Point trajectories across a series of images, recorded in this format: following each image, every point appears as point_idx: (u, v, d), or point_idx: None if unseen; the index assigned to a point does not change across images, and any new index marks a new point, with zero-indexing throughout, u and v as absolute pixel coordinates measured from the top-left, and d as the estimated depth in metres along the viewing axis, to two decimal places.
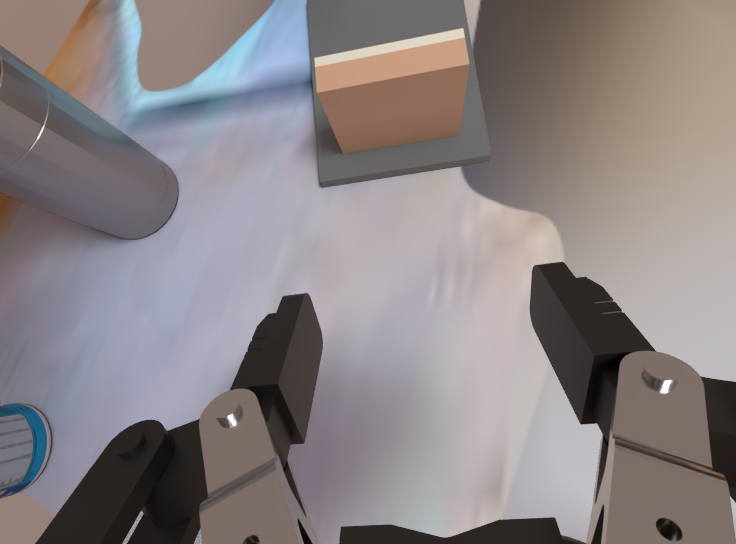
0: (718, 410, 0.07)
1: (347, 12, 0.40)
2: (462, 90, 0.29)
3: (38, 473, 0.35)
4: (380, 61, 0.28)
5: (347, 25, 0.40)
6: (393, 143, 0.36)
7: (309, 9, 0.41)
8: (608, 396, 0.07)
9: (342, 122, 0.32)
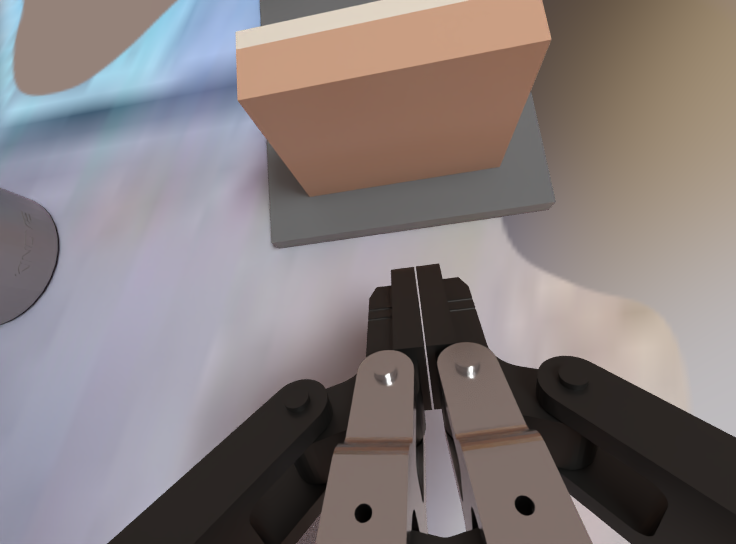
0: (512, 393, 0.08)
1: None
2: (523, 94, 0.15)
3: None
4: (364, 36, 0.14)
5: None
6: (391, 180, 0.22)
7: None
8: None
9: (299, 152, 0.18)
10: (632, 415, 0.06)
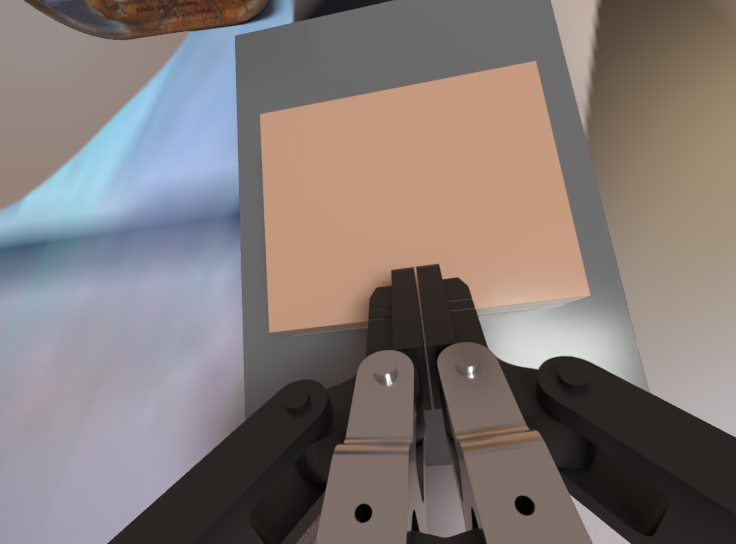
0: (512, 393, 0.08)
1: (315, 74, 0.19)
2: (543, 125, 0.14)
3: None
4: None
5: (314, 102, 0.19)
6: None
7: (240, 66, 0.20)
8: None
9: (288, 201, 0.15)
10: (632, 415, 0.06)
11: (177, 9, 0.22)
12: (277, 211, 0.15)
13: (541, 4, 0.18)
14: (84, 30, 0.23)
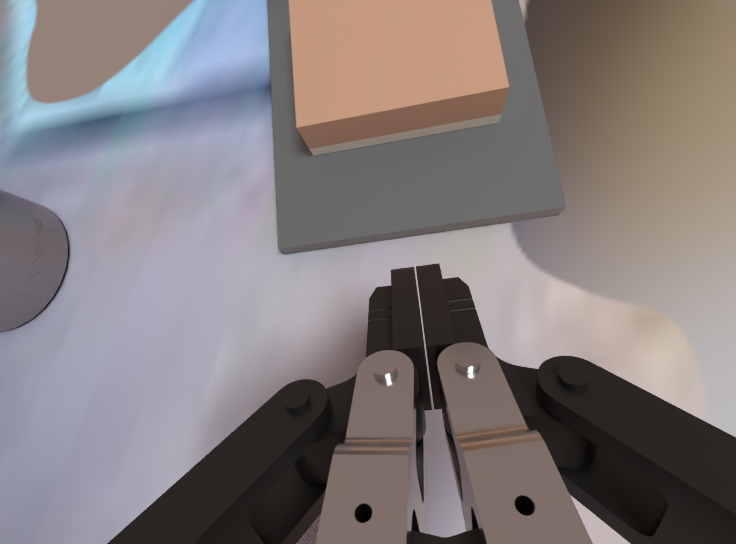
0: (512, 393, 0.08)
1: None
2: None
3: None
4: None
5: None
6: (386, 103, 0.20)
7: None
8: None
9: (308, 46, 0.21)
10: (632, 415, 0.06)
11: None
12: (301, 53, 0.21)
13: None
14: None
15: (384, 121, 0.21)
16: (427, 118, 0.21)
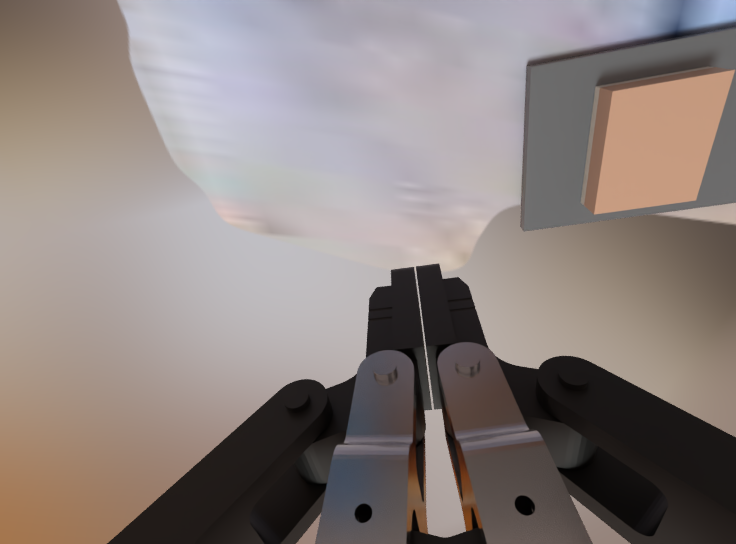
0: (513, 392, 0.08)
1: None
2: (664, 202, 0.36)
3: None
4: None
5: (732, 81, 0.33)
6: (608, 150, 0.34)
7: None
8: None
9: (675, 93, 0.31)
10: (632, 415, 0.06)
11: None
12: (672, 87, 0.31)
13: (727, 199, 0.39)
14: None
15: (599, 145, 0.34)
16: (593, 169, 0.36)
